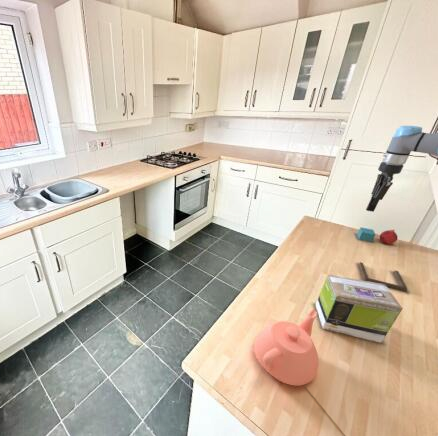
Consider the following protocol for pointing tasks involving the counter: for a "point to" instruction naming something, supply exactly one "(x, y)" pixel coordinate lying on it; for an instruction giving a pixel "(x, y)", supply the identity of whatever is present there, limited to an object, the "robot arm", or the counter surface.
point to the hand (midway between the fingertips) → (369, 210)
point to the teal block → (366, 234)
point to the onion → (388, 236)
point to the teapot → (288, 351)
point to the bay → (397, 275)
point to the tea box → (357, 308)
